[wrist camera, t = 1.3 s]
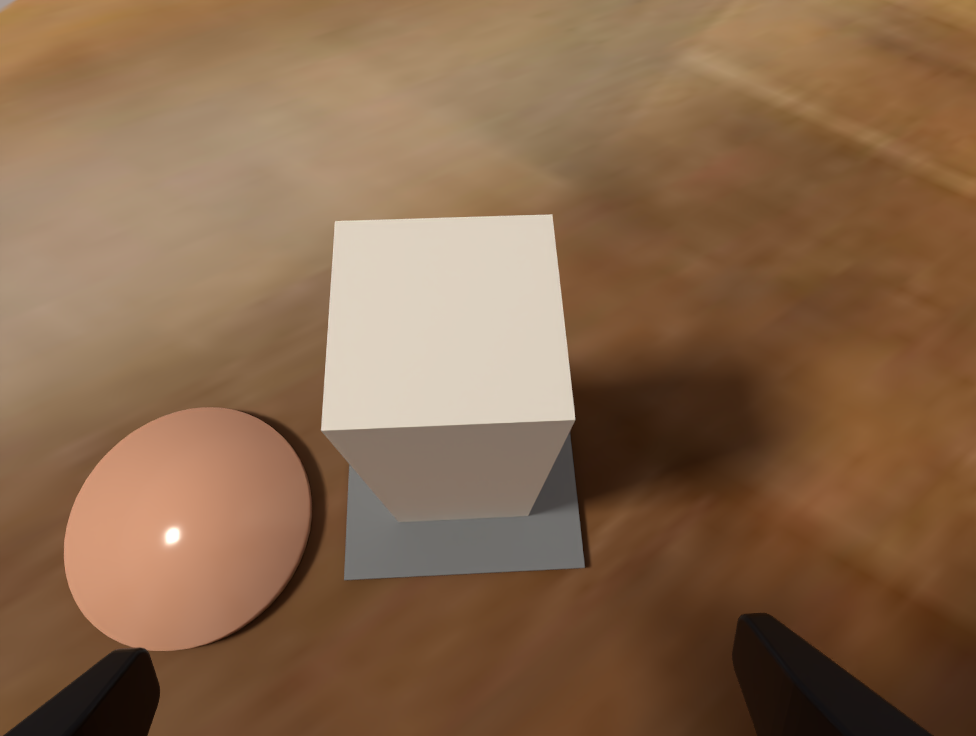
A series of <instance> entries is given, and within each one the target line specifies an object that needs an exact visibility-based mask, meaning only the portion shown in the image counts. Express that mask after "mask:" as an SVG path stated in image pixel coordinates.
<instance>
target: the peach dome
mask: <svg viewBox="0 0 976 736" xmlns="http://www.w3.org/2000/svg"><path fill="white" fill-rule="evenodd" d="M311 521H312V496H311V489H310V484H309V480H308V477H307V473H306V471H305V469H304V466H303V464H302V462H301V460H300V458H299V457H298V455H297V453H296V452H295V450H294V449H293V448H292V446H291V445H290V444H289V443H288V442H287V441H286V439H284V438H283V437H282V436H281V435H280V434H279V433H278V432H277V431H275V430H274V429H273V428H272V427H271V426H269V425H268V424H266V423H265V422H263V421H261V420H260V419H258V418H256V417H253V416H251V415H249V414H247V413H243V412H240V411H236V410H232V409H225V408H211V407H204V408H194V409H188V410H183V411H179V412H175V413H172V414H169V415H166V416H163V417H160V418H158V419H156V420H154V421H152V422H149V423H147V424H145V425H144V426H142V427H140V428H139V429H137V430H135V431H134V432H132V433H131V434H130V435H128V436H127V437H126V438H124V439H123V440H122V441H120V442H119V443H118V444H117V445H116V446H115V447H114V448H112V449H111V450H110V451H109V452H108V453H107V454H106V455H105V456H104V458H103V459H102V460H101V461H100V462H99V463H98V464H97V465H96V467H95V468H94V470H93V471H92V472H91V474H90V475H89V477H88V478H87V479H86V481H85V483H84V485H83V487H82V488H81V490H80V492H79V494H78V496H77V498H76V501H75V503H74V505H73V508H72V510H71V514H70V517H69V520H68V524H67V529H66V535H65V541H64V563H65V572H66V576H67V580H68V584H69V588H70V590H71V593H72V595H73V597H74V599H75V602H76V603H77V605H78V607H79V608H80V610H81V611H82V613H83V614H84V616H85V617H86V618H87V619H88V620H89V621H90V622H91V623H92V624H93V625H94V626H95V627H96V628H97V629H99V630H100V631H101V632H103V633H104V634H105V635H106V636H108V637H110V638H112V639H114V640H116V641H118V642H120V643H122V644H125V645H128V646H131V647H134V648H137V647H142V648H145V649H146V650H151V651H173V650H181V649H189V648H195V647H199V646H203V645H207V644H210V643H213V642H215V641H218V640H220V639H223V638H225V637H227V636H229V635H231V634H233V633H235V632H236V631H238V630H240V629H242V628H243V627H245V626H246V625H247V624H249V623H250V622H252V621H253V620H254V619H256V618H257V617H258V616H259V615H260V614H261V613H263V612H264V611H265V610H266V609H267V608H268V607H269V606H270V605H271V604H272V603H273V602H274V601H275V599H276V598H277V597H278V596H279V595H280V594H281V593H282V591H283V590H284V588H285V587H286V585H287V584H288V583H289V581H290V580H291V578H292V577H293V575H294V573H295V571H296V569H297V567H298V565H299V563H300V561H301V559H302V556H303V554H304V551H305V548H306V545H307V541H308V538H309V534H310V528H311Z"/></svg>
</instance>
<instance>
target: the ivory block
mask: <svg viewBox="0 0 976 736" xmlns="http://www.w3.org/2000/svg"><path fill="white" fill-rule="evenodd" d="M574 422H575V412H574V403H573V394H572V385H571V376H570V368H569V359H568V350H567V341H566V332H565V324H564V315H563V306H562V297H561V288H560V280H559V271H558V262H557V253H556V245H555V236H554V227H553V218H552V215H521V216H488V217H455V218H423V219H390V220H357V221H335V231H334V246H333V261H332V276H331V291H330V306H329V321H328V336H327V351H326V366H325V382H324V397H323V412H322V427H321V431H322V432H323V433H324V435H325V436H326V437H327V438H328V439H329V440H330V442H331V443H332V444H333V445H334V446H335V448H336V449H337V450H338V451H339V452H340V453H341V455H342V456H343V457H344V458H345V459H346V461H347V462H348V463H349V464H350V465H351V466H352V468H353V469H354V470H355V471H356V472H357V474H358V475H359V476H360V477H361V478H362V479H363V481H364V482H365V483H366V484H367V485H368V487H369V488H370V489H371V490H372V491H373V492H374V494H375V495H376V496H377V497H378V498H379V499H380V501H381V502H382V503H383V504H384V505H385V507H386V508H387V509H388V510H389V511H390V512H391V514H392V515H393V516H394V517H395V518H396V520H397V521H398V522H414V521H435V520H456V519H477V518H497V517H518V516H528V515H529V513H530V511H531V509H532V507H533V505H534V503H535V501H536V499H537V497H538V495H539V493H540V491H541V489H542V487H543V485H544V482H545V480H546V478H547V476H548V474H549V472H550V470H551V468H552V466H553V464H554V462H555V460H556V458H557V456H558V454H559V452H560V450H561V448H562V446H563V444H564V442H565V440H566V438H567V436H568V434H569V432H570V430H571V428H572V426H573V424H574Z"/></svg>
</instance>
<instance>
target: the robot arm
mask: <svg viewBox="0 0 976 736" xmlns="http://www.w3.org/2000/svg"><path fill="white" fill-rule="evenodd" d="M732 660H733V666H734V670H735V673H736V676H737V679H738V681H739V684H740V687H741V690H742V693H743V696H744V698H745V701H746V704H747V707H748V710H749V713H750V716H751V718H752V721H753V724H754V727H755V730H756V733H757V736H933V735H932V734H931V733H929V732H928V731H927V730H925V729H924V728H923V727H921V726H920V725H919V724H917V723H916V722H915V721H913V720H912V719H911V718H909V717H908V716H906V715H905V714H904V713H902V712H901V711H900V710H898V709H897V708H896V707H894V706H893V705H892V704H890V703H889V702H888V701H886V700H885V699H884V698H882V697H881V696H879V695H878V694H877V693H875V692H874V691H873V690H871V689H870V688H869V687H867V686H866V685H865V684H863V683H862V682H861V681H859V680H858V679H857V678H855V677H854V676H852V675H851V674H850V673H848V672H847V671H846V670H844V669H843V668H842V667H840V666H839V665H838V664H836V663H835V662H834V661H832V660H831V659H830V658H828V657H827V656H825V655H824V654H823V653H821V652H820V651H819V650H817V649H816V648H815V647H813V646H812V645H811V644H809V643H808V642H807V641H805V640H804V639H803V638H801V637H800V636H798V635H797V634H796V633H794V632H793V631H792V630H790V629H789V628H788V627H786V626H785V625H784V624H782V623H781V622H780V621H778V620H777V619H776V618H774V617H773V616H771V615H769V614H767V613H751V614H743V615H741V616H740V617H739V619H738V623H737V628H736V634H735V640H734V645H733V651H732ZM159 697H160V686H159V682H158V679H157V676H156V673H155V670H154V667H153V664H152V660H151V657H150V654H149V652H148V651H147V650H146V649H145V648H142V647H137V648H120V649H116V650H114V651H112V652H111V653H109V654H108V655H107V656H105V657H104V658H103V659H102V660H100V661H99V662H98V663H96V664H95V665H94V666H92V667H91V668H90V669H89V670H87V671H86V672H85V673H83V674H82V675H81V676H80V677H78V678H77V679H76V680H74V681H73V682H72V683H71V684H69V685H68V686H67V687H65V688H64V689H63V690H61V691H60V692H59V693H58V694H56V695H55V696H54V697H52V698H51V699H50V700H49V701H47V702H46V703H45V704H43V705H42V706H41V707H39V708H38V709H37V710H36V711H34V712H33V713H32V714H30V715H29V716H28V717H27V718H25V719H24V720H23V721H21V722H20V723H19V724H18V725H16V726H15V727H14V728H12V729H11V730H10V731H8V732H7V733H6V734H5V735H3V736H147V735H148V732H149V729H150V726H151V724H152V721H153V718H154V715H155V712H156V709H157V706H158V702H159Z"/></svg>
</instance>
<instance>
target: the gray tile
mask: <svg viewBox="0 0 976 736" xmlns="http://www.w3.org/2000/svg"><path fill="white" fill-rule="evenodd" d="M580 568H585V564H584V555H583V546H582V537H581V528H580V519H579V509H578V500H577V491H576V482H575V473H574V464H573V454H572V445H571V436H570V432H569V434H568V436H567V438H566V440H565V442H564V444H563V446H562V448H561V450H560V452H559V454H558V456H557V458H556V460H555V462H554V464H553V466H552V468H551V470H550V472H549V474H548V476H547V478H546V480H545V482H544V485H543V487H542V489H541V491H540V493H539V495H538V497H537V499H536V501H535V503H534V505H533V507H532V509H531V511H530V513H529V515H528V516H518V517H497V518H477V519H456V520H435V521H414V522H398V521H397V520H396V518H395V517H394V516H393V515H392V514H391V512H390V511H389V510H388V509H387V508H386V507H385V505H384V504H383V503H382V502H381V501H380V499H379V498H378V497H377V496H376V495H375V494H374V492H373V491H372V490H371V489H370V488H369V487H368V485H367V484H366V483H365V482H364V481H363V479H362V478H361V477H360V476H359V475H358V474H357V472H356V471H355V470H354V469H353V468H352V466H351V465H350V464H349V484H348V506H347V528H346V551H345V573H344V580H365V579H384V578H404V577H423V576H443V575H462V574H482V573H501V572H521V571H540V570H560V569H580Z"/></svg>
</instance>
